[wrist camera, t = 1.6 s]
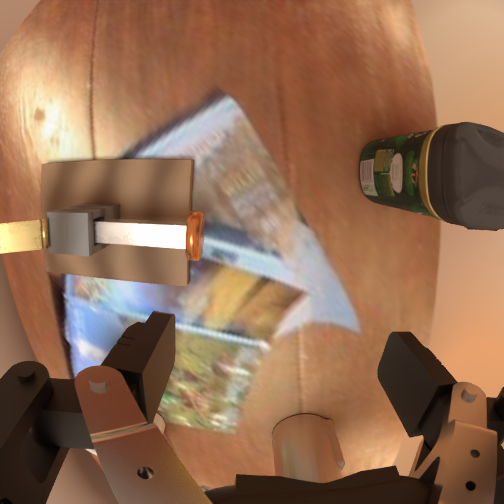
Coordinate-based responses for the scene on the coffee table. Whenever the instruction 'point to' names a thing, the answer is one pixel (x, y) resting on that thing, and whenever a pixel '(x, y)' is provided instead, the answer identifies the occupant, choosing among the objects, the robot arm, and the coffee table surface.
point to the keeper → (23, 235)
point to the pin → (154, 233)
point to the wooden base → (115, 216)
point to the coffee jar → (440, 174)
